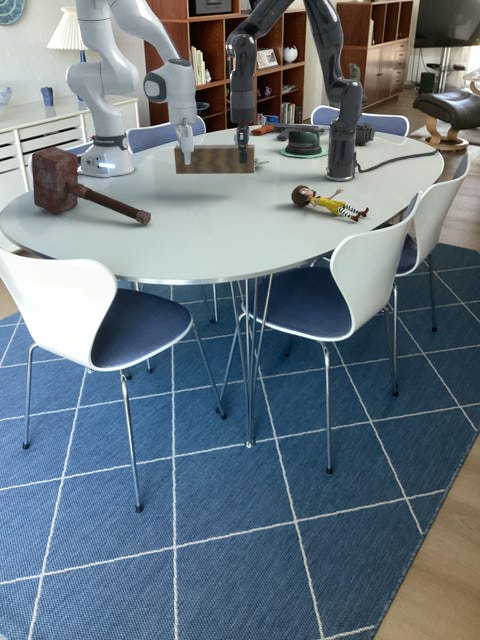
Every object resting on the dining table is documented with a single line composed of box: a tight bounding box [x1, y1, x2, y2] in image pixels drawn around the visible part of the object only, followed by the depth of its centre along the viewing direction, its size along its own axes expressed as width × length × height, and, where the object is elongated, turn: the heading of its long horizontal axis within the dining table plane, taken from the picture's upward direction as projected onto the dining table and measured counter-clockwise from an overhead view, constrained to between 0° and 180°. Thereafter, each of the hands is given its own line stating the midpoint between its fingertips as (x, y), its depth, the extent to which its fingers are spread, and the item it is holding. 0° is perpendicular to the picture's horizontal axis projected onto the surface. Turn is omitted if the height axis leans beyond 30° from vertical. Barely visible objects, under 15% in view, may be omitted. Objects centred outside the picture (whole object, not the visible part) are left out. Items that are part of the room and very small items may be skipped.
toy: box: [355, 122, 376, 146], centre depth 244 cm, size 9×9×15 cm
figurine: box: [290, 184, 370, 223], centre depth 170 cm, size 13×8×25 cm
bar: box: [173, 144, 256, 175], centre depth 180 cm, size 26×5×8 cm, turn 86°
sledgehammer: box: [31, 146, 152, 226], centre depth 169 cm, size 17×10×40 cm
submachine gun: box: [250, 121, 326, 141], centre depth 264 cm, size 32×3×25 cm
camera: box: [233, 133, 270, 168], centre depth 214 cm, size 9×12×15 cm
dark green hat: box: [279, 128, 328, 159], centre depth 234 cm, size 15×19×20 cm
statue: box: [348, 62, 368, 125], centre depth 262 cm, size 11×9×30 cm
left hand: (186, 160), depth 181 cm, fingers open, 8 cm apart
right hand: (243, 160), depth 180 cm, fingers closed on bar, 4 cm apart
